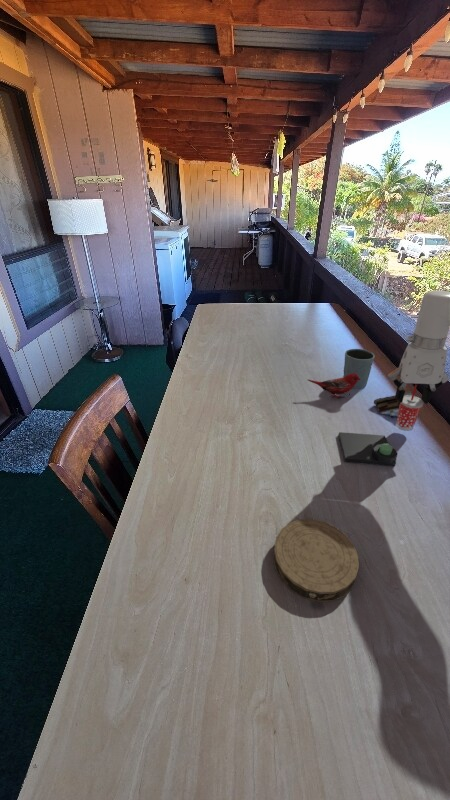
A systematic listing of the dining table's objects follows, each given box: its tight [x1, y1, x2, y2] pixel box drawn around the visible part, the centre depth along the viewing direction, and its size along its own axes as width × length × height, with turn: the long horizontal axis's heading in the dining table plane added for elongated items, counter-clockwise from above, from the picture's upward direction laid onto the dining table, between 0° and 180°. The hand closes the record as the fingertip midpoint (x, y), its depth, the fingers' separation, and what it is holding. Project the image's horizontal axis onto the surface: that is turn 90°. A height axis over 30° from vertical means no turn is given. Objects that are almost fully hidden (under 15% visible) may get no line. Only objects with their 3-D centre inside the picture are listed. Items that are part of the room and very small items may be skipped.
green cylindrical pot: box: [342, 348, 376, 389], centre depth 130 cm, size 10×10×12 cm
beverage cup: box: [395, 384, 425, 432], centre depth 100 cm, size 6×6×14 cm
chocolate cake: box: [373, 391, 413, 419], centre depth 114 cm, size 10×7×12 cm
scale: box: [337, 431, 398, 467], centre depth 97 cm, size 13×12×3 cm
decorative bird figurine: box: [307, 373, 361, 399], centre depth 121 cm, size 3×18×10 cm, turn 78°
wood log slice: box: [273, 518, 360, 603], centre depth 68 cm, size 16×16×3 cm
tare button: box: [379, 443, 394, 455], centre depth 93 cm, size 3×3×2 cm
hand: (411, 400), depth 99 cm, fingers closed on beverage cup, 6 cm apart
